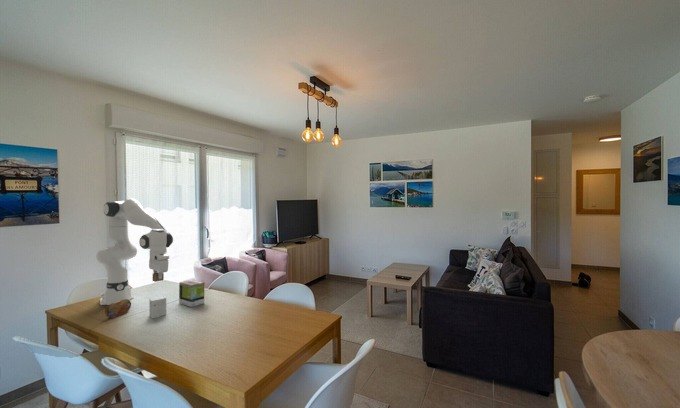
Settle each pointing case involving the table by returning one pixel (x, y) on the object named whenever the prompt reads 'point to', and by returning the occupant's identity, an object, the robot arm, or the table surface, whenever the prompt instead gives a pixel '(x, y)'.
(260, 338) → the table surface
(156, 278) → the walnut cube
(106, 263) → the robot arm
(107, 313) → the tin
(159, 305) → the small box
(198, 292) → the tea box
